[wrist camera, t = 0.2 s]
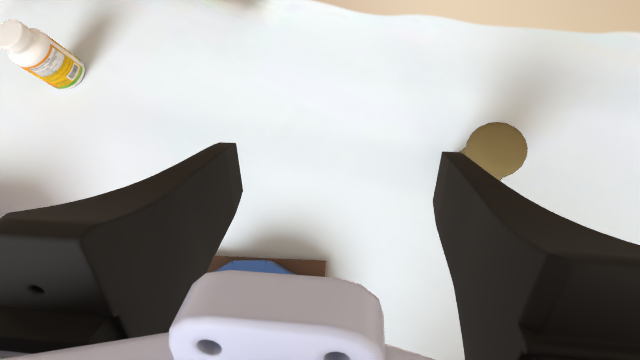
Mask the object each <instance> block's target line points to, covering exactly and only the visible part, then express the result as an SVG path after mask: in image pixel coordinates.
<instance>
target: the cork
mask: <svg viewBox="0 0 640 360" xmlns="http://www.w3.org/2000/svg"><path fill="white" fill-rule="evenodd" d="M527 149H528V148H527V144H526V140H525V138H524V137H523V135H522V133H521V132H519V131H518V130H517V129H516V128H515V127H513V126H511V125H509V124H506V123H500V122H494V123H488V124H486V125H483V126H481V127H479V128H478V129H476V130H475V131H474V132H473V133H472V134H471V136H470V138H469V140H468V141H467V145H466V148H464V149H463V150H462V151H460V153H463V154H464V155H466V156H467V157H468V158H470V159H471V160H472V161H474V162H475V163H476V164H478V165H479V166H480V167H482V168H483V169H484V170H486V171H487V172H488V173H490V174H491V175H492V176H494V177H495V178H496V179H498V180H499V181H500V180H501V179H502V177H506V176H508V175H510V174H513V173H514V172H516V171H517V170H518V169H519V168H520V167H521V166H522V165H523V163H524V161H525V159H526V156H527Z"/></svg>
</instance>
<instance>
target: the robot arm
mask: <svg viewBox="0 0 640 360" xmlns="http://www.w3.org/2000/svg"><path fill="white" fill-rule="evenodd" d="M242 192H243V188H242V181H241V174H240V167H239V161H238V154H237V147H236V143H217V144H214V145H212V146H210V147H208V148H206V149H204V150H202V151H201V152H199V153H197V154H195V155H193V156H191V157H189V158H188V159H186V160H184V161H182V162H180V163H178V164H176V165H174V166H172V167H170V168H168V169H166V170H164V171H162V172H160V173H158V174H156V175H154V176H151V177H149V178H147V179H144V180H142V181H139V182H137V183H134V184H132V185H129V186H126V187H123V188H120V189H117V190H114V191H110V192H107V193H104V194H101V195H97V196H94V197H90V198H86V199H82V200H78V201H74V202H69V203H65V204H60V205H55V206H50V207H44V208H37V209H31V210H25V211H19V212H11V213H8V214H6V215H4V216H3V217H2V218H0V360H434V359H431V358H428V357H425V356H422V355H419V354H416V353H412V352H409V351H406V350H403V349H400V348H397V347H394V346H391V345H387V344H385V340H384V318H383V312H382V309H381V305H380V301H379V299H378V298H377V297H376V296H375V295H373V294H372V293H371V292H370V291H368V290H367V289H366V288H365V287H364V286H362V285H361V284H358V283H354V282H350V281H346V280H342V279H339V278H330V277H317V276H304V275H290V274H277V273H264V272H250V271H237V270H226V271H218V272H211V273H207V271H208V268H209V266H210V264H211V262H212V259H213V257H214V255H215V253H216V252H217V250H218V248H219V246H220V244H221V242H222V240H223V238H224V236H225V234H226V232H227V230H228V228H229V226H230V224H231V222H232V220H233V218H234V216H235V214H236V211H237V208H238V205H239V202H240V199H241V195H242ZM433 206H434V214H435V221H436V226H437V230H438V233H439V237H440V240H441V244H442V247H443V250H444V254H445V257H446V260H447V264H448V267H449V270H450V274H451V277H452V281H453V285H454V290H455V296H456V302H457V307H458V313H459V320H460V326H461V333H462V339H463V347H464V354H465V360H640V245H637V244H634V243H630V242H627V241H624V240H621V239H618V238H615V237H612V236H609V235H606V234H603V233H600V232H598V231H595V230H592V229H590V228H587V227H585V226H582V225H580V224H577V223H575V222H573V221H571V220H568V219H566V218H564V217H561V216H559V215H557V214H555V213H553V212H551V211H549V210H547V209H545V208H543V207H541V206H539V205H538V204H536V203H534V202H532V201H530V200H528V199H527V198H525V197H523V196H522V195H520V194H519V193H517V192H516V191H514V190H512V189H511V188H509V187H508V186H506V185H505V184H503V183H502V182H501V181H499V180H498V179H496V178H495V177H494V176H492V175H491V174H490V173H488V172H487V171H486V170H484V169H483V168H482V167H480V166H479V165H478V164H476V163H475V162H474V161H472V160H471V159H470V158H468V157H467V156H466V155H464V154H463V153H460V152H442V156H441V161H440V166H439V171H438V177H437V182H436V187H435V192H434V198H433Z"/></svg>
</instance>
